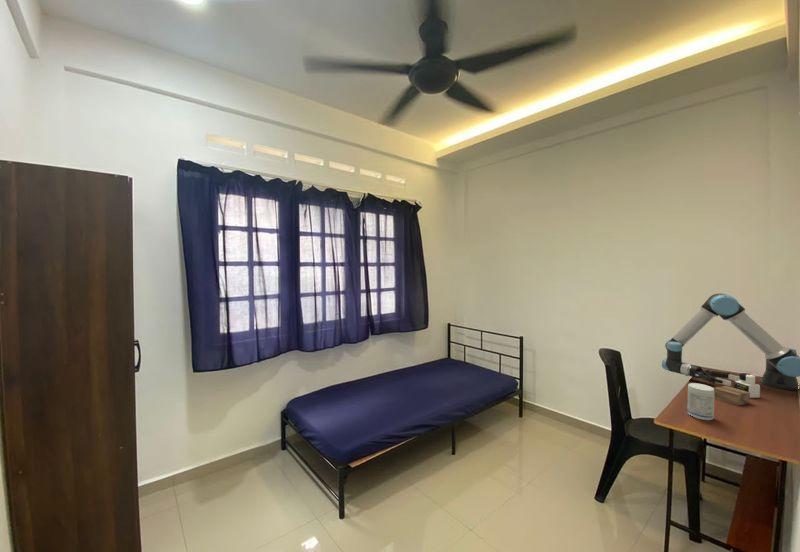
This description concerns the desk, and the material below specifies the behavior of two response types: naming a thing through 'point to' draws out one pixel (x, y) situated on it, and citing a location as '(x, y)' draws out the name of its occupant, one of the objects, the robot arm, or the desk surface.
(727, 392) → the walnut block
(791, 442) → the desk surface
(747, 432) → the desk surface
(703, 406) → the supplement tub
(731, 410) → the desk surface
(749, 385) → the medicine bottle
